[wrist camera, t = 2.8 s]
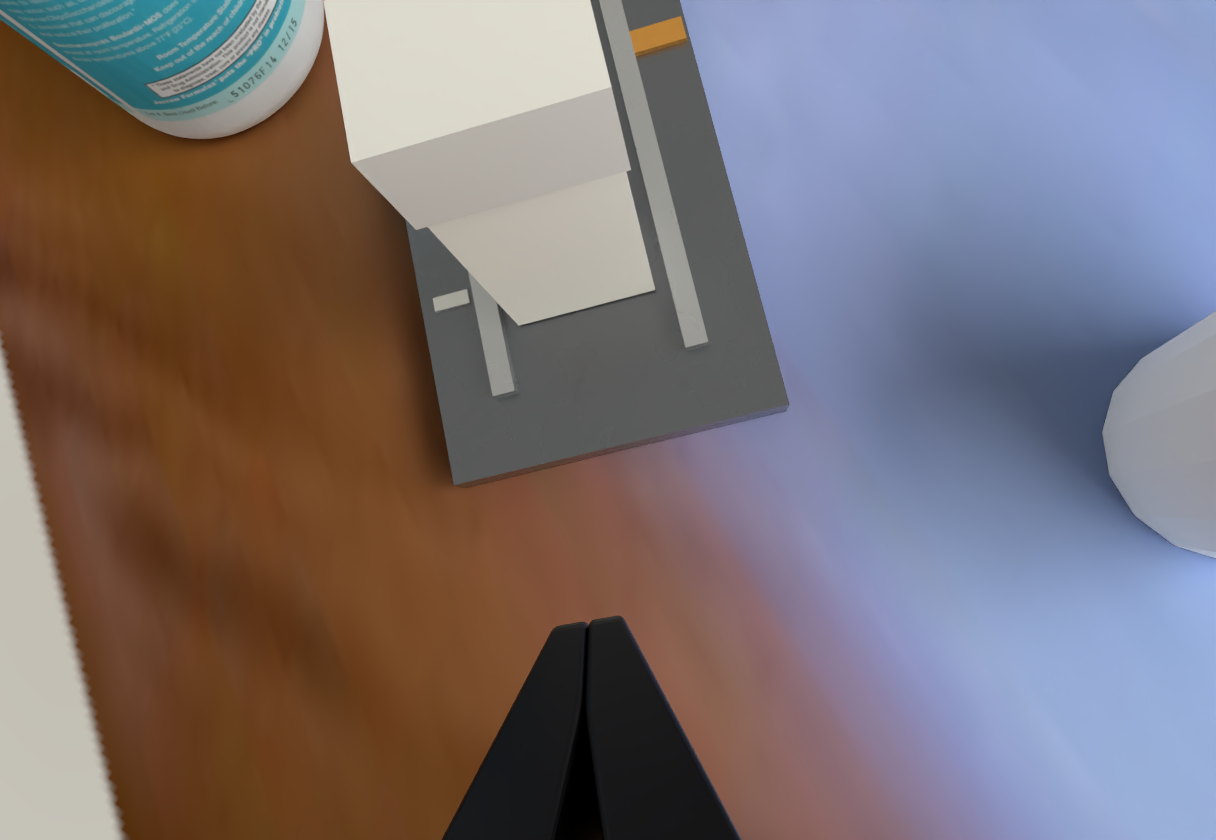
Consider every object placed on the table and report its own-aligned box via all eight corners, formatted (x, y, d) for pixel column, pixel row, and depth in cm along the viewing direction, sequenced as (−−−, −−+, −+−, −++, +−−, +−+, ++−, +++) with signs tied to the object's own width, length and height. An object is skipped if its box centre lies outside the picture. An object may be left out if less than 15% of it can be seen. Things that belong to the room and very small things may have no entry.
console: (785, 410, 20) (790, 401, 19) (466, 487, 21) (448, 484, 20) (665, -35, 23) (661, -72, 22) (384, 50, 24) (364, 21, 23)
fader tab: (660, 296, 20) (611, 86, 11) (516, 333, 21) (351, 162, 11) (637, 199, 21) (571, -78, 11) (497, 238, 21) (323, 1, 12)
